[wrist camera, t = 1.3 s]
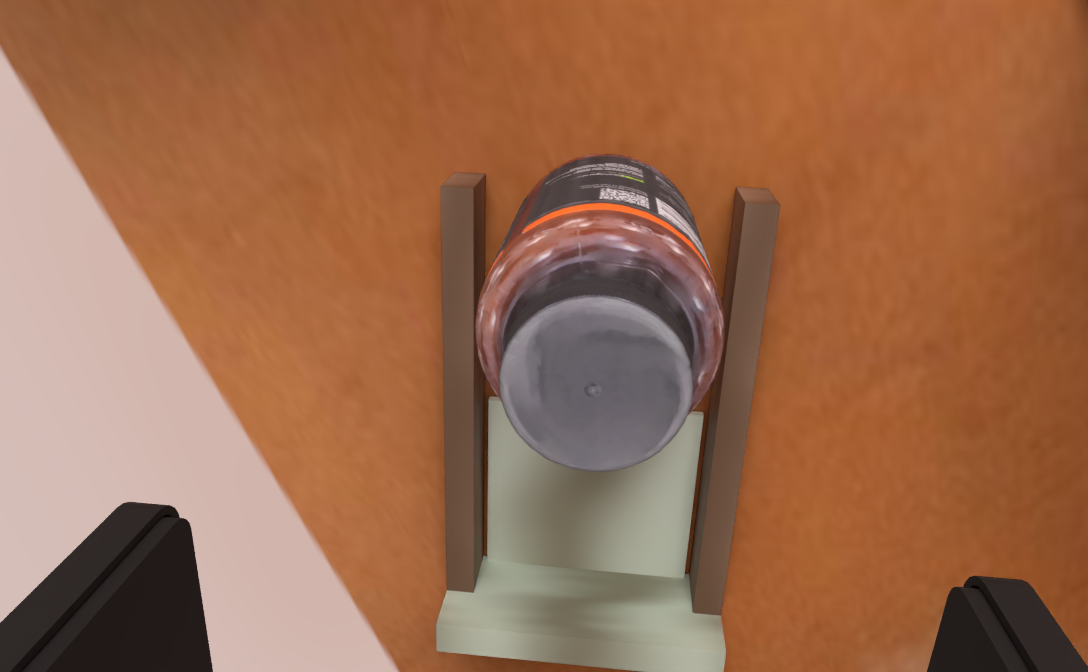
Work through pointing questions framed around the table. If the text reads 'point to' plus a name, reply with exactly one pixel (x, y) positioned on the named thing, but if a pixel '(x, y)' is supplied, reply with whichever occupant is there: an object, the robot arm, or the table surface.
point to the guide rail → (592, 491)
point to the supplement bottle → (600, 315)
